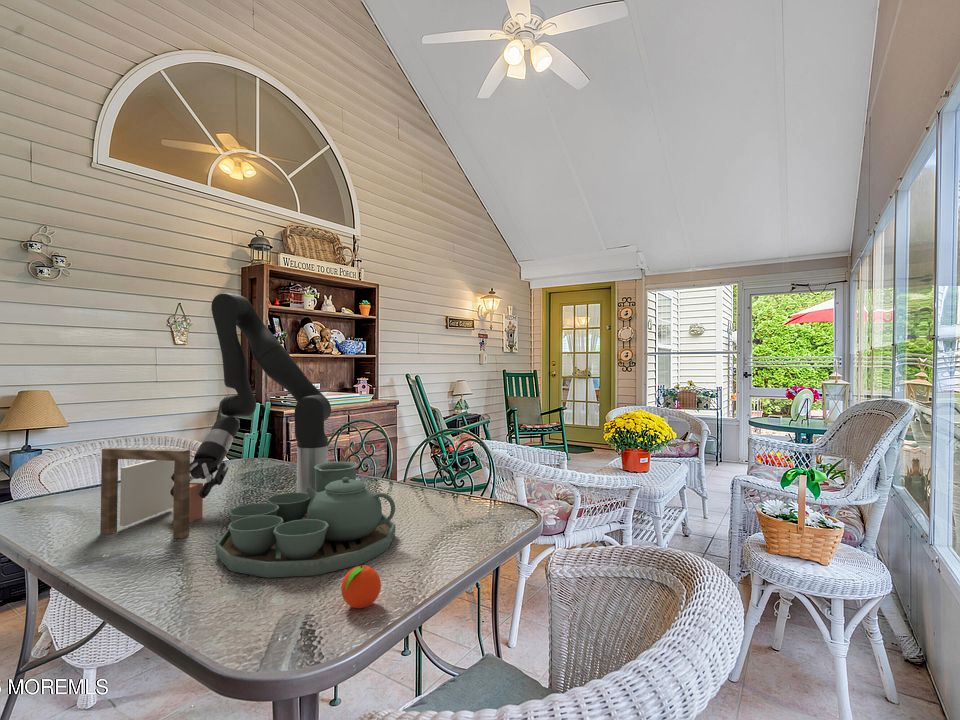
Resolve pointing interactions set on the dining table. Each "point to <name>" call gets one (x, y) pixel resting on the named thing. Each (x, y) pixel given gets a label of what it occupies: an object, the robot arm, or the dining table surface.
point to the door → (145, 490)
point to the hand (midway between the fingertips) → (187, 496)
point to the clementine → (360, 586)
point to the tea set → (309, 528)
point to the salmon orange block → (194, 502)
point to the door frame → (177, 455)
